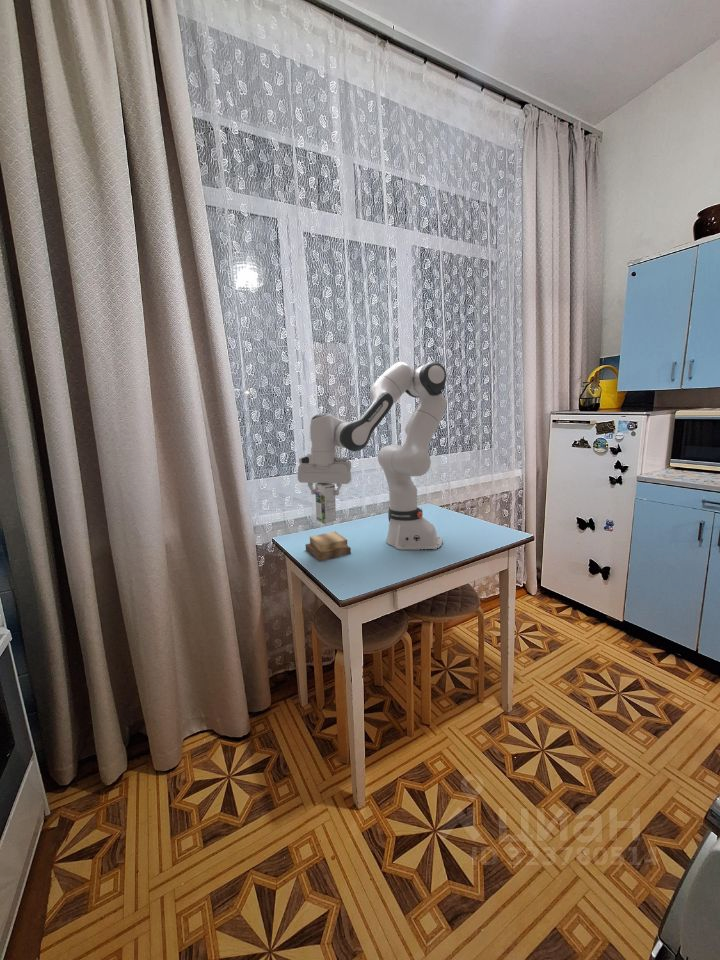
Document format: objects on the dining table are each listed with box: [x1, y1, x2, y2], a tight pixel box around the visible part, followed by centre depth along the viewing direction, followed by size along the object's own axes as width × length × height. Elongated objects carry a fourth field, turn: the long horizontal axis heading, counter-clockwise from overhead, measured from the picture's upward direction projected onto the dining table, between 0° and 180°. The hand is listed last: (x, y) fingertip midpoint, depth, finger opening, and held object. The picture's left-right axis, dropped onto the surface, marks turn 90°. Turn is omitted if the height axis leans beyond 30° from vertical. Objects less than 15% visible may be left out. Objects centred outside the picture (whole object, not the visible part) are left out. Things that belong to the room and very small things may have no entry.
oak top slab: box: [309, 531, 348, 553], centre depth 151 cm, size 11×11×3 cm
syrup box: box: [314, 483, 337, 525], centre depth 147 cm, size 6×6×14 cm
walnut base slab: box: [305, 543, 352, 562], centre depth 151 cm, size 13×13×3 cm
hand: (325, 494), depth 147 cm, fingers closed on syrup box, 8 cm apart
